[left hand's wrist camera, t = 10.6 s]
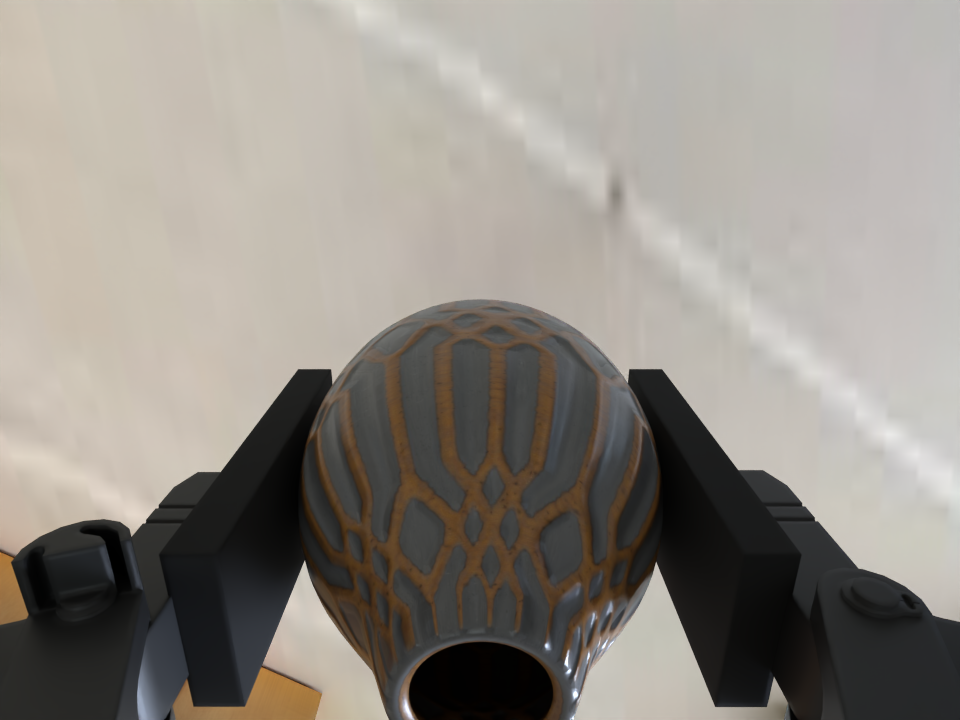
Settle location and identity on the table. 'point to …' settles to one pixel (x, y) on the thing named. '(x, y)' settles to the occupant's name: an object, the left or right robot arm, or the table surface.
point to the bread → (268, 712)
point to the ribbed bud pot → (480, 511)
